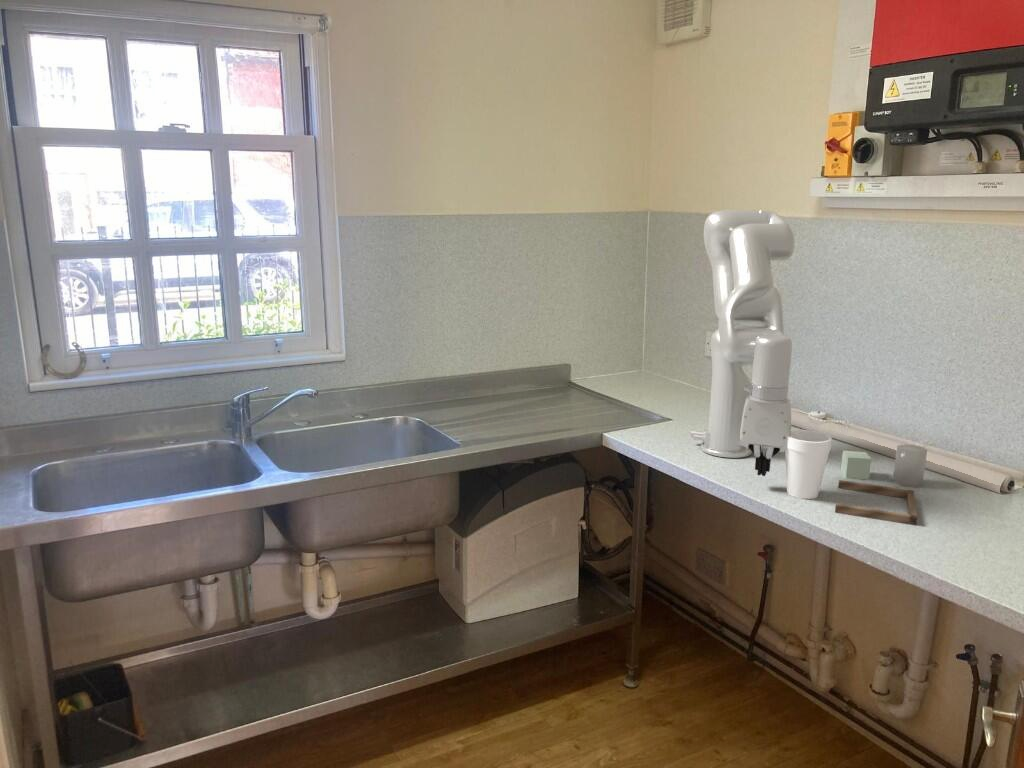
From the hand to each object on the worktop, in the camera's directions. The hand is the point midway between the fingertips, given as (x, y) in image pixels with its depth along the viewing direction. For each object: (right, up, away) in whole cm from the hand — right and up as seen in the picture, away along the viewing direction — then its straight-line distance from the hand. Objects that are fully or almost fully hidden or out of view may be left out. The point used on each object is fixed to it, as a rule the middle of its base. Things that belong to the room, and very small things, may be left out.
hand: (761, 473), depth 171 cm
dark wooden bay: (+21, -5, -8) cm, 23 cm away
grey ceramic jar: (+34, -3, +5) cm, 35 cm away
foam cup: (+8, -4, -3) cm, 9 cm away
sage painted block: (+24, -1, +9) cm, 26 cm away
